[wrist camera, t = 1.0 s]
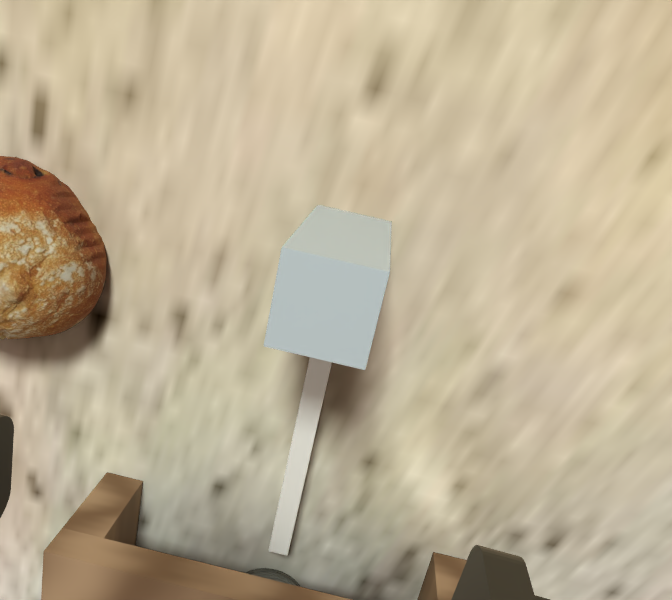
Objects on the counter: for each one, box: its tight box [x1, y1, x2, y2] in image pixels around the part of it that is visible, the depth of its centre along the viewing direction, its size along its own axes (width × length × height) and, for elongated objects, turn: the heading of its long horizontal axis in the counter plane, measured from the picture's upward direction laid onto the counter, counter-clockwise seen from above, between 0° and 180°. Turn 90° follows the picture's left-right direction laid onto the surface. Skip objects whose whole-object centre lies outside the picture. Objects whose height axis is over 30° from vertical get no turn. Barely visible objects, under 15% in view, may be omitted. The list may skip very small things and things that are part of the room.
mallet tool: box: [264, 205, 392, 556], centre depth 29 cm, size 4×21×10 cm, turn 168°
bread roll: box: [0, 156, 107, 340], centre depth 30 cm, size 10×10×8 cm
